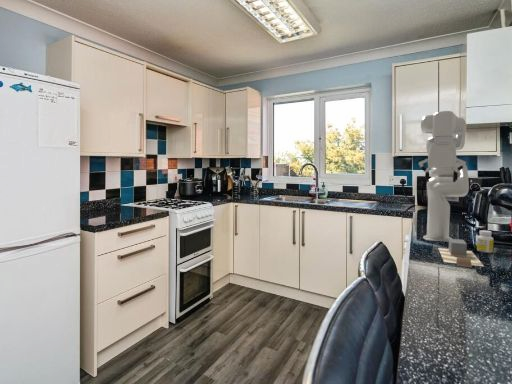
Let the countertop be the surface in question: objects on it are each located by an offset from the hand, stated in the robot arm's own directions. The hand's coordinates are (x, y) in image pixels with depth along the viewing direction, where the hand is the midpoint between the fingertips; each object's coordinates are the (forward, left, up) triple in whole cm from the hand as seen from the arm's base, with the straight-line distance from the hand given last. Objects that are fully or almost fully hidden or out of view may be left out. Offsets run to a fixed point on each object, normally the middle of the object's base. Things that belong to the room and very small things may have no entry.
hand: (440, 181), depth 129 cm
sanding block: (+8, +6, -29) cm, 30 cm away
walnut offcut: (+24, +6, -29) cm, 38 cm away
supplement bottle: (-2, +17, -30) cm, 35 cm away
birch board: (+12, +6, -30) cm, 33 cm away
